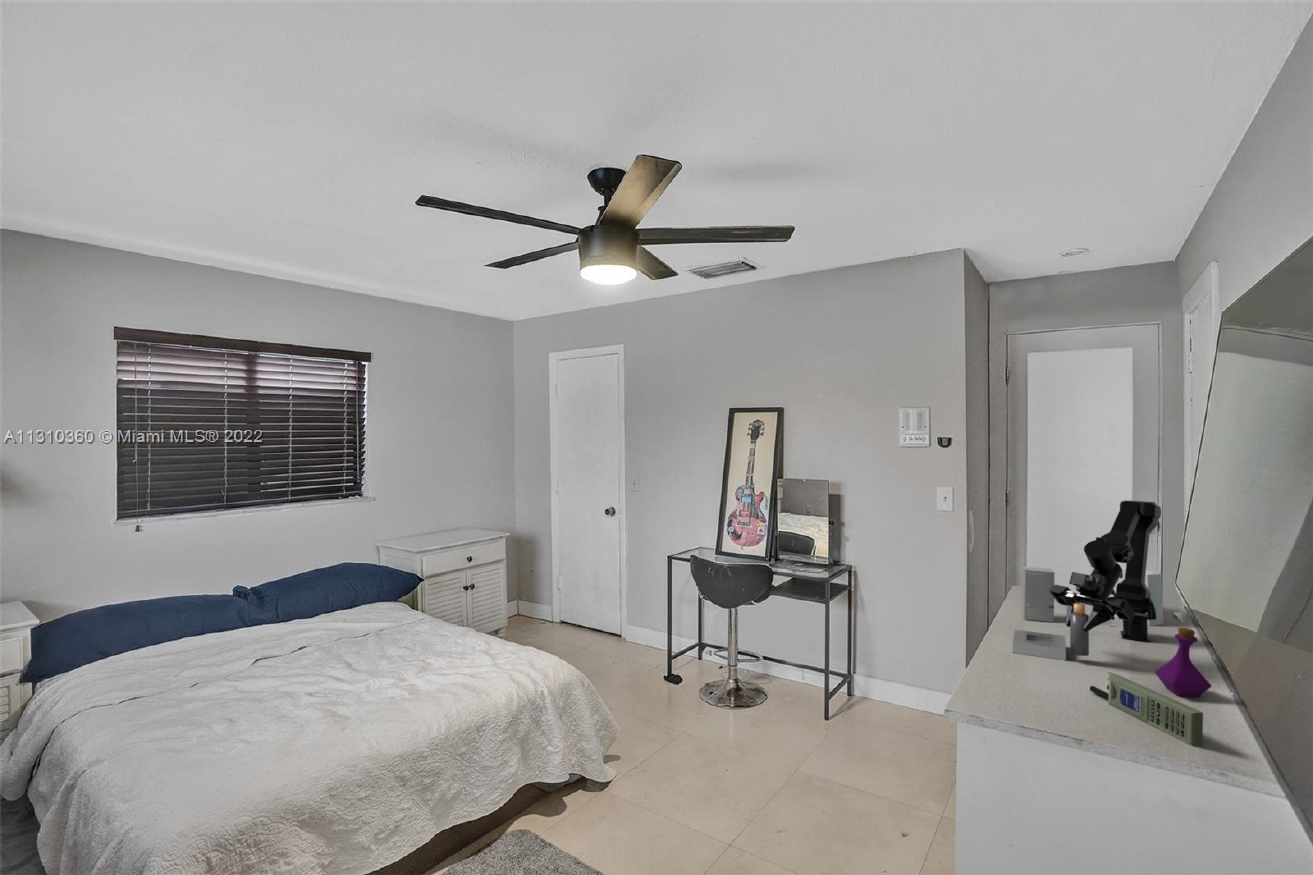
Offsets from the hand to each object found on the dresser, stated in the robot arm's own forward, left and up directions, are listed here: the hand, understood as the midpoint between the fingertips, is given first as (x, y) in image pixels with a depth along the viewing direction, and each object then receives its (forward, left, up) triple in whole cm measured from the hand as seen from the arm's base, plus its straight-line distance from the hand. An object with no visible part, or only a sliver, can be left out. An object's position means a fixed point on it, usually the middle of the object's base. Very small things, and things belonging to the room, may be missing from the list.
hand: (1075, 628), depth 164 cm
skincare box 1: (-39, -9, -9) cm, 41 cm away
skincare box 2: (-56, +15, -9) cm, 59 cm away
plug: (-1, +1, -7) cm, 7 cm away
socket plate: (-6, -8, -9) cm, 13 cm away
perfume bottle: (+11, +20, -9) cm, 24 cm away
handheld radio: (+30, +10, -9) cm, 33 cm away
